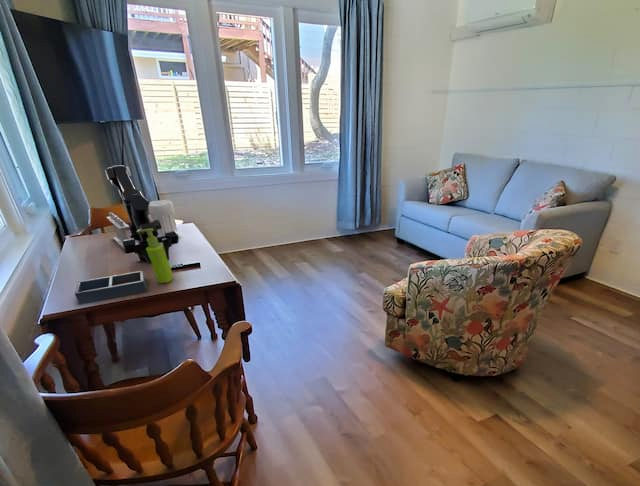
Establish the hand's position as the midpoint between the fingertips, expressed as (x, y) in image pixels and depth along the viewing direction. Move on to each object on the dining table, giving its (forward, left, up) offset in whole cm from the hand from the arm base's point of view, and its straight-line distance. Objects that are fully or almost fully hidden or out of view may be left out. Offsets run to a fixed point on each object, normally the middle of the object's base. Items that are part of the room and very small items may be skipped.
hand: (159, 261), depth 147 cm
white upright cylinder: (-27, +49, -9) cm, 57 cm away
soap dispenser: (-1, +1, -8) cm, 8 cm away
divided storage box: (-15, -9, -9) cm, 20 cm away
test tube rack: (-44, +40, -9) cm, 60 cm away
